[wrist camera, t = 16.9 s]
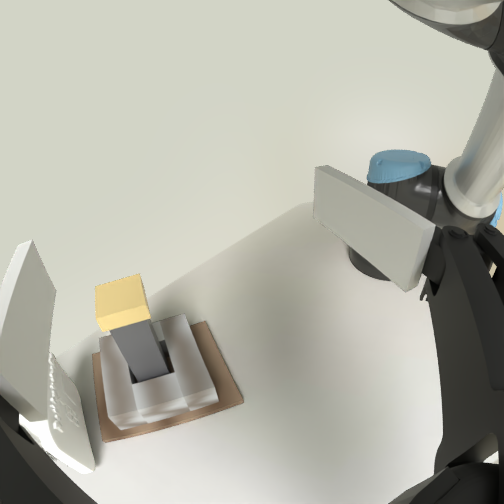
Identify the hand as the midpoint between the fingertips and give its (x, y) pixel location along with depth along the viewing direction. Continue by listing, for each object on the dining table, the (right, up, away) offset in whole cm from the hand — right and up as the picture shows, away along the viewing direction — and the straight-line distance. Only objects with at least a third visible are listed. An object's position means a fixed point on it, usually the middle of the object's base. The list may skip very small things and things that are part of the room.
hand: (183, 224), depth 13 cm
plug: (-11, -19, +27) cm, 34 cm away
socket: (-11, -20, +27) cm, 35 cm away
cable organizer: (-24, -27, +17) cm, 40 cm away
